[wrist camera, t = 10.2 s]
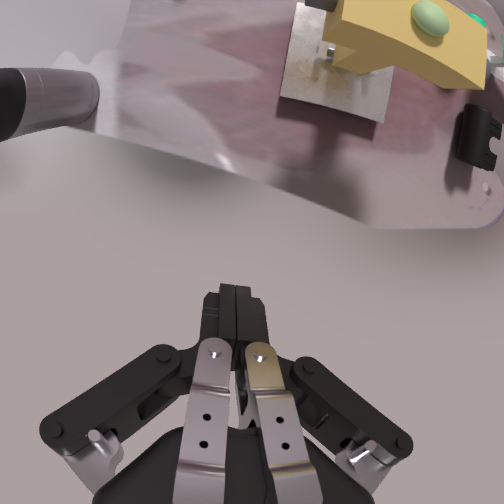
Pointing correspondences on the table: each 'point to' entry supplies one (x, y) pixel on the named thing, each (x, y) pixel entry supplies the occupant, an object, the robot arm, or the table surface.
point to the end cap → (478, 137)
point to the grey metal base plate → (329, 72)
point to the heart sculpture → (497, 63)
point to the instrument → (407, 39)
